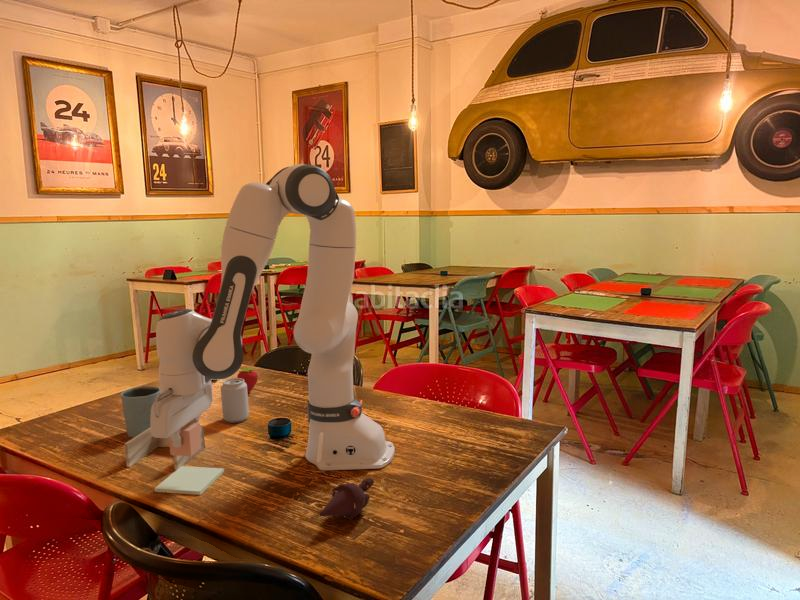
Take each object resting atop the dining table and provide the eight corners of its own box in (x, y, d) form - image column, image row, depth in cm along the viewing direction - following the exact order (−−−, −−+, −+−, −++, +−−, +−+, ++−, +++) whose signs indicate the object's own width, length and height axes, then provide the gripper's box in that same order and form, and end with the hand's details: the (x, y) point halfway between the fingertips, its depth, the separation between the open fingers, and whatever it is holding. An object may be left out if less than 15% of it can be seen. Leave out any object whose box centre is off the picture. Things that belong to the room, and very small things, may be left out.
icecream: (337, 509, 103) (387, 483, 115) (310, 488, 107) (361, 466, 119) (330, 540, 105) (380, 512, 117) (303, 519, 109) (354, 494, 121)
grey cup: (121, 431, 159) (116, 391, 158) (157, 422, 166) (153, 383, 164) (130, 442, 152) (126, 399, 150) (169, 432, 158) (165, 391, 156)
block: (201, 447, 129) (199, 423, 128) (191, 456, 125) (189, 430, 124) (181, 446, 130) (179, 422, 129) (170, 455, 126) (168, 429, 125)
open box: (205, 447, 147) (203, 425, 146) (177, 469, 135) (175, 446, 134) (157, 444, 149) (155, 423, 149) (126, 466, 137) (124, 443, 136)
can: (252, 414, 170) (250, 376, 168) (243, 424, 163) (240, 384, 161) (229, 414, 171) (226, 376, 169) (219, 423, 164) (215, 384, 162)
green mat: (224, 471, 133) (223, 468, 133) (200, 494, 122) (200, 491, 122) (181, 469, 135) (181, 466, 135) (154, 491, 124) (154, 488, 124)
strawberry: (250, 396, 187) (248, 367, 185) (234, 393, 190) (232, 365, 189) (263, 391, 192) (261, 363, 191) (246, 388, 196) (244, 360, 194)
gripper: (167, 398, 114) (172, 461, 116) (216, 369, 134) (219, 424, 136) (139, 397, 115) (145, 460, 117) (191, 368, 135) (195, 423, 137)
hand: (185, 440), depth 127 cm, fingers closed on block, 4 cm apart
